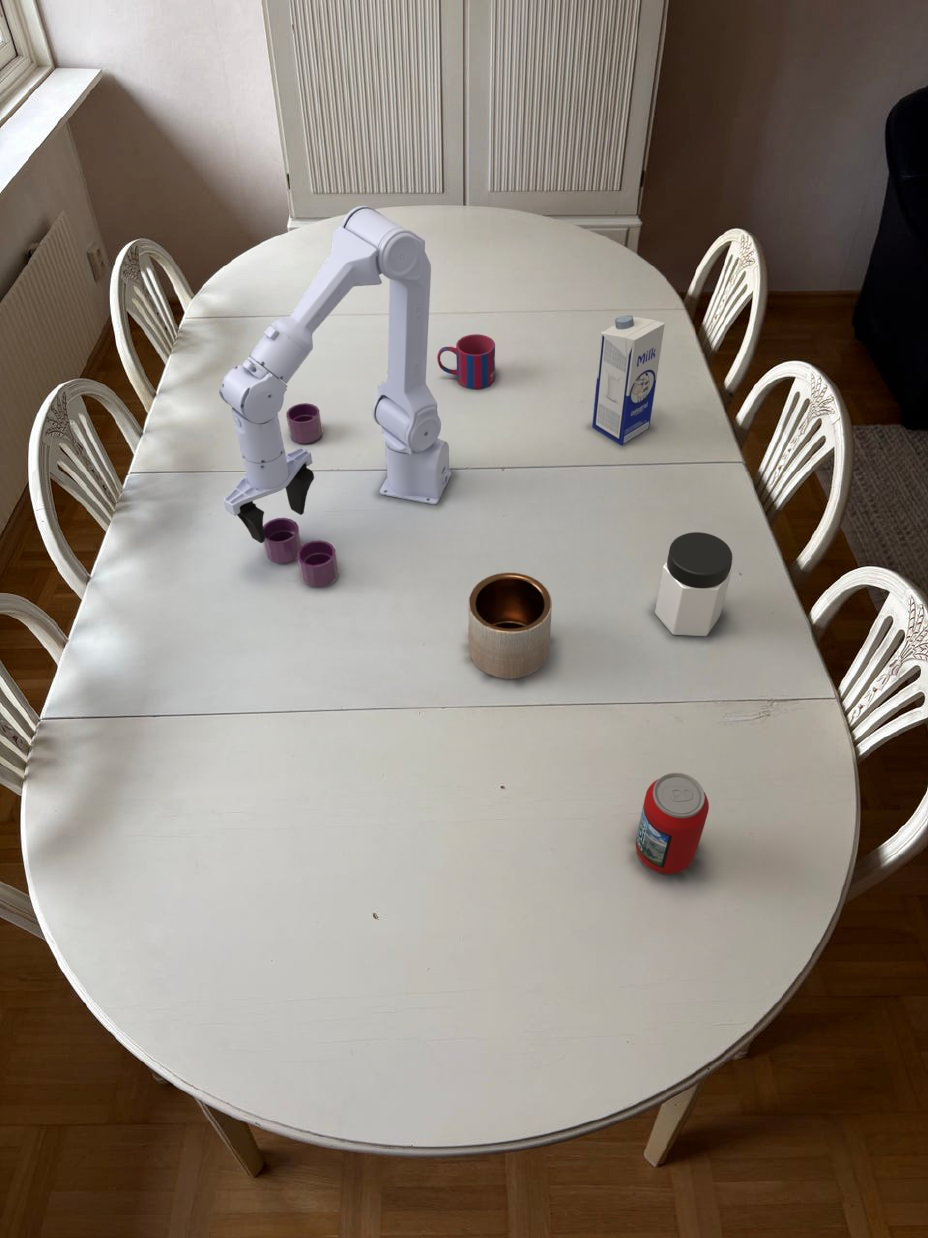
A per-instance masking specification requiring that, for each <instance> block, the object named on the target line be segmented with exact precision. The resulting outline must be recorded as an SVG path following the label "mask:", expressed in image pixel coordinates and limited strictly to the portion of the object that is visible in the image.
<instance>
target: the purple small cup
mask: <svg viewBox="0 0 928 1238" xmlns="http://www.w3.org/2000/svg"><path fill="white" fill-rule="evenodd" d="M336 551H337V550H336V548H335V547H334V545H333V544H332V543H330V542H328V541H326V540H320V539H319V540H312V541H311V540H310V541H308V542H305V543H304V544H302V547H300V549H299V551H298V552H297V559H296V560H297V564H298V568H299V573H300V578H301V580H302V582H304V583H305V584H306V585H308V586H310V587H312V588H324V587H328V586H330V585H331V584H333V582H334V581H336V579H337V578H338V576H339V573H340V572H339V571H340V570H339V564H338V557H337V552H336Z"/></svg>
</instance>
